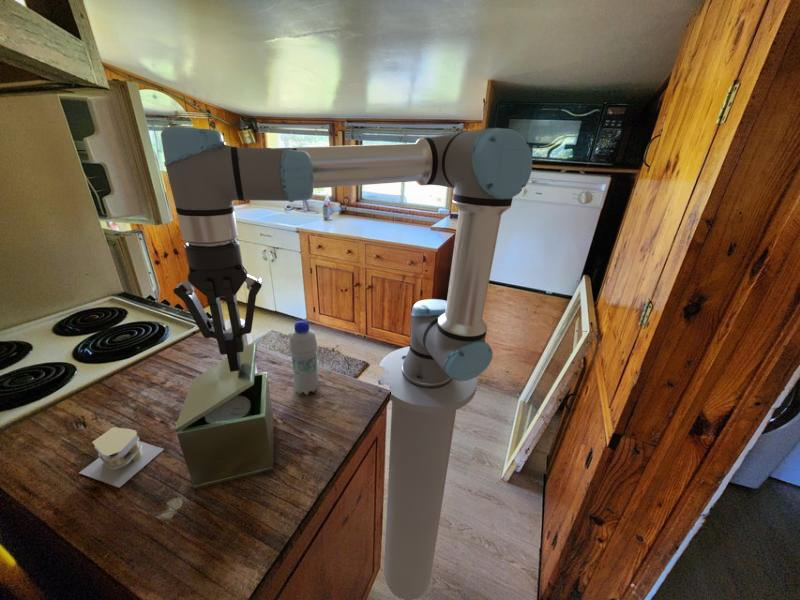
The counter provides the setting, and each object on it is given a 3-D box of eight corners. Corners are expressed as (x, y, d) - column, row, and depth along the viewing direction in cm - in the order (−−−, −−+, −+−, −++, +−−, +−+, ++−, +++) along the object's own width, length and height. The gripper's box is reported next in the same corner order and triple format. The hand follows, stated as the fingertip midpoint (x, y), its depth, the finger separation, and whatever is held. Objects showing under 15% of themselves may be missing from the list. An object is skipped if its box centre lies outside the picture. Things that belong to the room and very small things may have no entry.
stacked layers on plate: (78, 473, 61) (68, 452, 59) (126, 437, 69) (119, 417, 67) (119, 488, 59) (109, 466, 57) (164, 449, 67) (157, 429, 64)
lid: (257, 343, 66) (255, 340, 66) (253, 384, 55) (250, 381, 54) (195, 382, 65) (192, 379, 65) (177, 432, 54) (173, 430, 53)
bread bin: (273, 420, 75) (266, 371, 70) (273, 470, 64) (264, 416, 58) (207, 433, 71) (194, 382, 65) (194, 489, 59) (176, 433, 54)
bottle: (306, 377, 90) (301, 313, 82) (325, 386, 87) (321, 320, 79) (287, 391, 84) (280, 323, 76) (306, 401, 81) (300, 331, 73)
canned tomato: (206, 465, 63) (194, 422, 58) (229, 433, 70) (220, 393, 66) (245, 470, 62) (236, 427, 58) (264, 437, 70) (258, 397, 65)
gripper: (258, 233, 55) (273, 350, 65) (169, 236, 51) (199, 360, 61) (256, 245, 49) (273, 373, 58) (154, 248, 45) (190, 385, 54)
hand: (235, 366), depth 60 cm, fingers closed
